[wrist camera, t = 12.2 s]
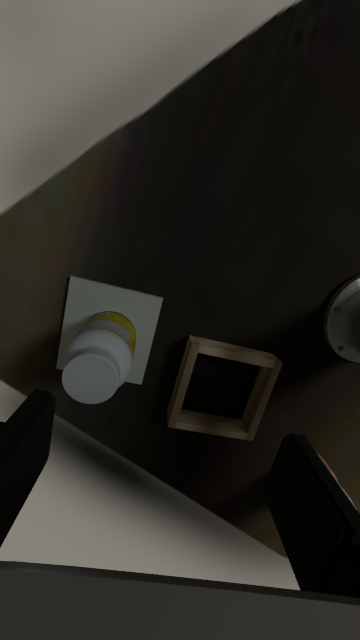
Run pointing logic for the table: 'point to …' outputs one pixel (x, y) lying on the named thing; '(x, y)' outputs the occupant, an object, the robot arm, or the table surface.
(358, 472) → the table surface
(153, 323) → the ceramic tile
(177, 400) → the oak cradle
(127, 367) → the pill bottle
